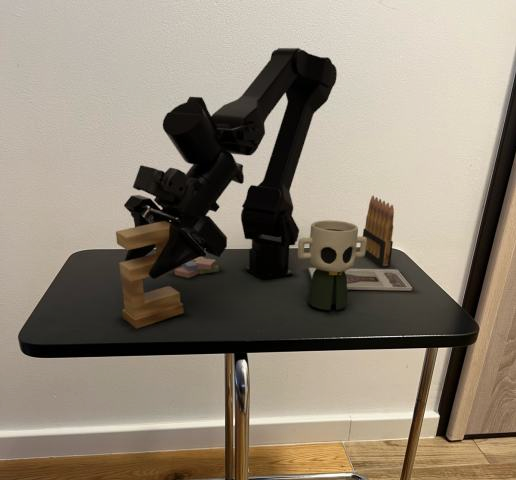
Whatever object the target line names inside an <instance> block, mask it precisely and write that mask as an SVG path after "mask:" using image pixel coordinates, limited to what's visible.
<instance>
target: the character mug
mask: <svg viewBox="0 0 516 480" xmlns="http://www.w3.org/2000/svg"><path fill="white" fill-rule="evenodd" d="M358 235H359V227H358V226H357V225H356V224H355V223H352V222H347V221H343V220H342V221H341V220H328V219H327V220H318V221H314V222H312V223H311V224H310V233H309V237H301V238H299V239H298V241H297V242H298V243H297V258H298V259H300V260H308V262H309V265H310V266H311V268H316V270H315V271H314V273H313V277H312V279H311V282H310V285H309V290H308V296H307V301H308V303H309V304H310V306H312V307H314V308H316V309H319V310H324V311H331V310H332V309H331V308H332V306H335V310H336V311H338V310H342V309H345V308H346V307H347V305H348V289H347V277H346V274H345V271H346V270H349V269H352V268H353V266H354V264H355V261H356V259H358V258H363V257H366V256H365V252H366V244H367V238H366V237H363V236H358ZM357 244H359V245H360V246H359V251H357ZM305 245H308V246H309V247H308V252H305Z"/></svg>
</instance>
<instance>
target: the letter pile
mask: <svg viewBox="0 0 516 480" xmlns="http://www.w3.org/2000/svg"><path fill="white" fill-rule="evenodd" d="M219 271H220V267H219V265H218V264H217V259H213V258H206V257H202V256H201V257H198V258H196V259H194V260H192V261H189V262H187V263H185V264H183V265H181V266H179V267H178V269H175V270H174V276H178V277H182V278H187V279H190V278H192V277H195V276H197V275H203V274H210V273H217V272H218V273H219Z"/></svg>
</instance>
